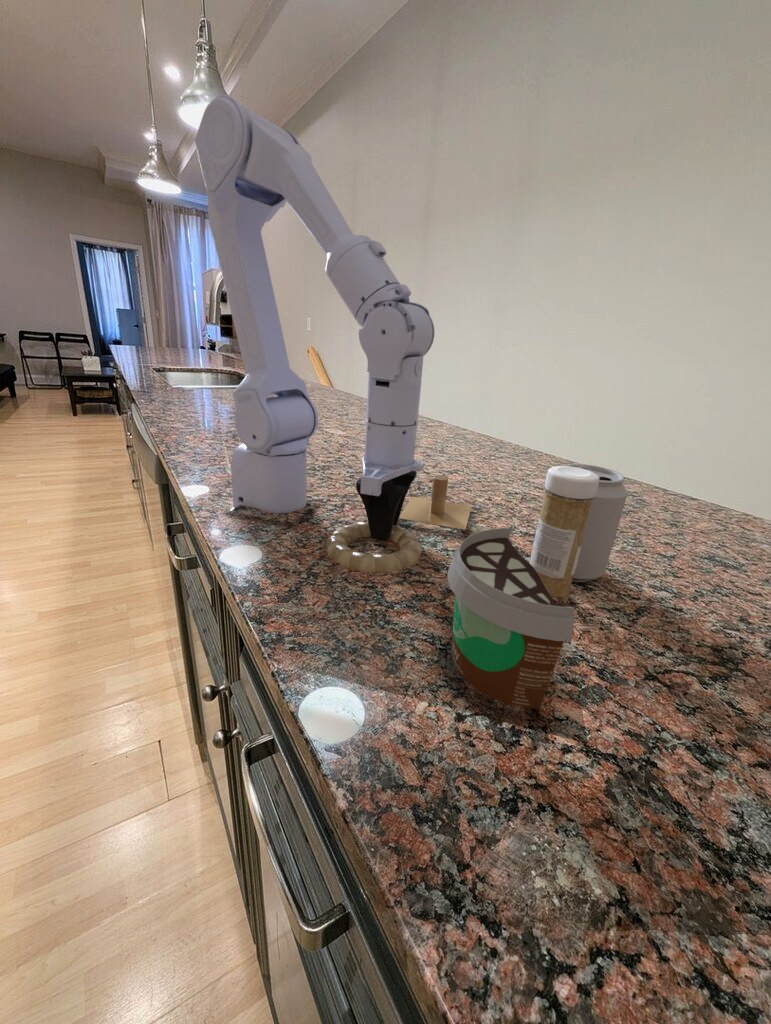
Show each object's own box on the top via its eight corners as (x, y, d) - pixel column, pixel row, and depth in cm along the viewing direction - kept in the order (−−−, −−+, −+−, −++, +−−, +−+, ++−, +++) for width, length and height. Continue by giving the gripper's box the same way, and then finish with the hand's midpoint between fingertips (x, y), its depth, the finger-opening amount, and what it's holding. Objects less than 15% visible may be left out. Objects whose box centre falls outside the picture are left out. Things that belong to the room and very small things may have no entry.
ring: (310, 570, 48) (310, 550, 47) (345, 530, 58) (346, 513, 57) (408, 590, 45) (410, 569, 45) (427, 545, 55) (429, 528, 54)
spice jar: (577, 600, 46) (611, 475, 41) (548, 612, 43) (581, 482, 38) (541, 579, 49) (568, 462, 44) (512, 589, 47) (538, 467, 42)
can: (571, 591, 47) (599, 485, 43) (521, 559, 53) (541, 463, 49) (617, 578, 51) (648, 478, 46) (565, 549, 57) (588, 458, 52)
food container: (424, 623, 41) (436, 523, 37) (489, 623, 41) (508, 525, 37) (454, 739, 29) (476, 612, 25) (544, 737, 30) (579, 613, 26)
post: (397, 526, 60) (401, 482, 58) (411, 503, 68) (415, 464, 66) (464, 537, 58) (471, 493, 56) (470, 513, 66) (477, 473, 64)
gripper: (413, 439, 42) (401, 564, 47) (437, 414, 55) (426, 515, 60) (343, 430, 44) (339, 552, 49) (383, 408, 57) (376, 507, 62)
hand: (383, 531), depth 55 cm, fingers open, 3 cm apart
